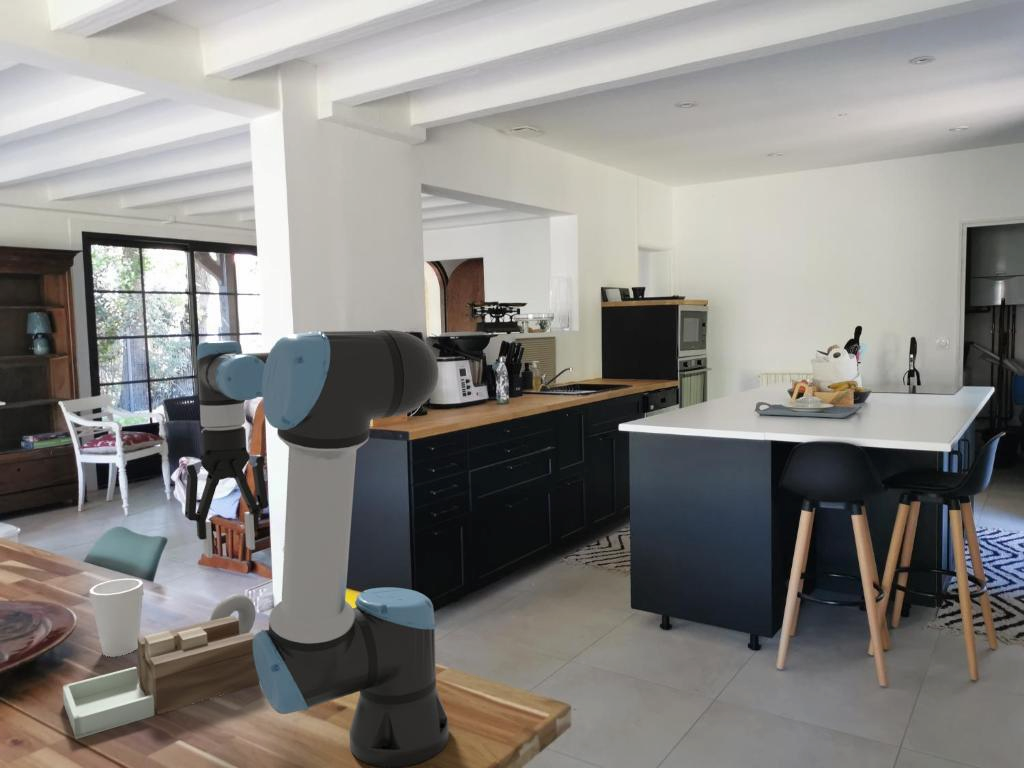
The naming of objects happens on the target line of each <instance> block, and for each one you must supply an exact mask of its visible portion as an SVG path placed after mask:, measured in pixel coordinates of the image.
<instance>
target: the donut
mask: <svg viewBox="0 0 1024 768" xmlns="http://www.w3.org/2000/svg"><path fill="white" fill-rule="evenodd" d="M234 612H237V614H238V617H237V619H238V620H239V633H240V634H241V635H242V634H245V633H249V632H251V630H252V628H253V626H254V624H255V621H256V607H255V603H254V602H253V600H252V598H249V596H247V595H245V594H241V593H234V594H233V593H232V594H229V595H228V596H226V597H224V598H223V599H221V600H220V601H219V603H217V604H216V606H215V608H214V609H213V611H212V613H211V616H210V620H209V621H212V620H216V619H220V618H224V617H228V616H232V614H233V613H234Z"/></svg>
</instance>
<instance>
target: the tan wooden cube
mask: <svg viewBox="0 0 1024 768" xmlns="http://www.w3.org/2000/svg"><path fill="white" fill-rule="evenodd" d="M169 631H170V630H164V631H160V632H157V633H153V634H148V635H144V636H143V637H144V639H145V655H146V660H147V661H148V663H149V664H150V658H152V657H156V656H160V655H164V654H168V653H172V652H175V644H174V637H173V636H172V634H171V633H170V632H169Z"/></svg>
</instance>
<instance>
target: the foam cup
mask: <svg viewBox="0 0 1024 768" xmlns="http://www.w3.org/2000/svg"><path fill="white" fill-rule="evenodd" d="M144 595H145V594H144V582H143V581H142V580H141V579H137V578H120V579H119V578H118V579H112V580H108V581H104V582H101V583H98V584H96V585H94V586H92V587H91V588H89V601H90V605H91V606H92V609H93V613H94V614H93V615H94V619H95V623H96V624H95V625H96V629H97V632H98V639H99V641H100V646H101V650H102V654H103V656H104V655H105V656H104V657H107V656H108V658H115V657H116V656H117V657H123V656H126V654H127V655H129V654H128V653H130V654H131V652H132V653H133V651H134V650H138V648H137V647H138V641H137V638H140V629H141V619H142V609H143V608H142V607H143V596H144ZM134 652H135V651H134ZM122 655H123V656H122ZM109 656H110V657H109ZM117 657H116V658H117Z"/></svg>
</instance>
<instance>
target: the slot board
mask: <svg viewBox="0 0 1024 768" xmlns="http://www.w3.org/2000/svg"><path fill="white" fill-rule="evenodd" d="M198 627H201V628H202V629H203V630H204V631H205V632H206V633H207V644H203V645H199V646H195V647H191V648H187V649H183V650H179V651H178V636H177V633H178V632H182V631H186V630H190V629H194V628H198ZM169 632H170V633H171V634H172V636H173V637H174V644H175V652H172V653H168V654H164V655H160V656H156V657H152V658H150V664H149V663H148V661H147V660H146V655H145V639H144V636H142V637H139V638H137V641H138V648H137V659H138V673H139V674H138V675H139V676H138V678H139V685H140V687H141V689H142V691H143V692H144V694H146V695H145V696H149V695H153V699H154V712H155V713H156V714H157V715H161V714H165V713H167V712H166V711H168V712H170V711H169V710H171V711H174V709H175V710H178V709H181V708H180V707H182V708H184V707H183V706H185V707H187V706H186V705H188V706H190V705H189V704H192V703H195V704H197V703H196V702H198V703H200V702H199V701H202V700H205V701H207V700H206V699H208V700H211V699H210V698H212V699H215V698H218V697H221V696H220V695H222V696H224V695H223V694H225V695H228V694H232V693H235V692H237V691H241V690H245V689H248V688H251V687H254V686H258V685H261V684H260V681H259V677H258V674H257V670H256V666H255V661H254V656H253V638H254V636H255V634H254V633H252V631H250V632H249V633H245V634H242V635H241V634H240V633H239V620H238V617H236V616H235V615H234V614H233V615H230V616H228V617H224V618H220V619H216V620H212V621H210V620H209V621H204V622H201V623H195V624H192V625H188V626H184V627H180V628H176V629H172V630H171V629H170V630H169ZM231 692H232V693H231ZM217 696H218V697H217ZM214 697H215V698H214ZM202 702H203V701H202ZM192 705H193V704H192ZM177 708H178V709H177ZM164 712H165V713H164Z"/></svg>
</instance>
